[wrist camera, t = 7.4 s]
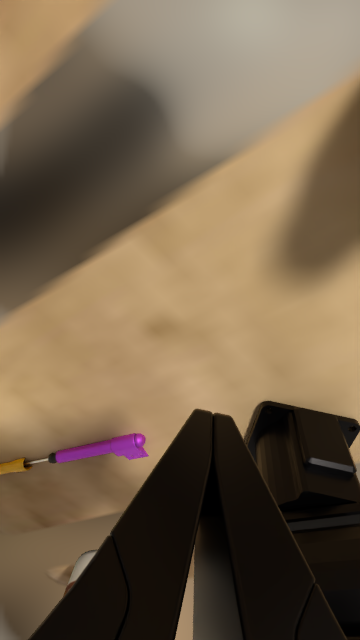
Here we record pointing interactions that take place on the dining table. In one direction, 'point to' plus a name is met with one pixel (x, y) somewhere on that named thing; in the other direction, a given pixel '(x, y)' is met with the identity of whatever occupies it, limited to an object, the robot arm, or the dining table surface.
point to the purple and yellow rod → (87, 452)
